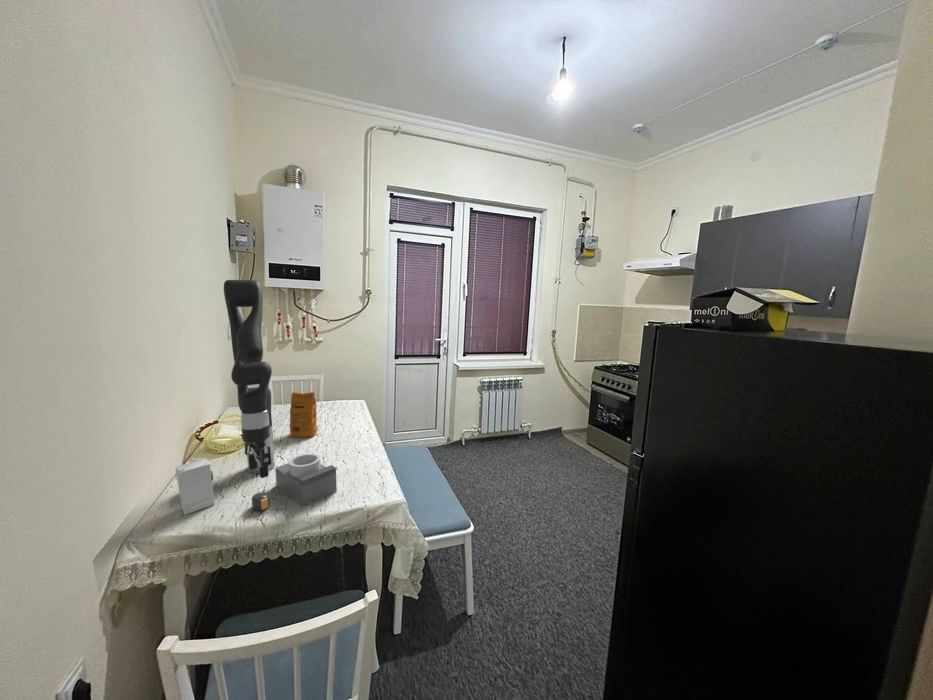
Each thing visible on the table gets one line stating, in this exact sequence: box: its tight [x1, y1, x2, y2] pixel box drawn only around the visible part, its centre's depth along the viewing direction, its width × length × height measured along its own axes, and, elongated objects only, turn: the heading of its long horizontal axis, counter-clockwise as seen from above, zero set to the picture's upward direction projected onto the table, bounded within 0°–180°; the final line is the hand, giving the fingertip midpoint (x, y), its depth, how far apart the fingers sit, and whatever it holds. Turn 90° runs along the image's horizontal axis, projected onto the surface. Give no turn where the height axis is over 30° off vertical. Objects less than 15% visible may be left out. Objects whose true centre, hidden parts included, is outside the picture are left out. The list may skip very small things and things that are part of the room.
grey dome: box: [251, 491, 271, 513], centre depth 112 cm, size 6×5×4 cm
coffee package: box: [289, 391, 318, 439], centre depth 171 cm, size 10×12×22 cm
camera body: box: [275, 453, 337, 507], centre depth 123 cm, size 20×12×11 cm, turn 52°
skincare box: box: [175, 457, 216, 516], centre depth 111 cm, size 8×6×15 cm
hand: (258, 472), depth 111 cm, fingers open, 8 cm apart
